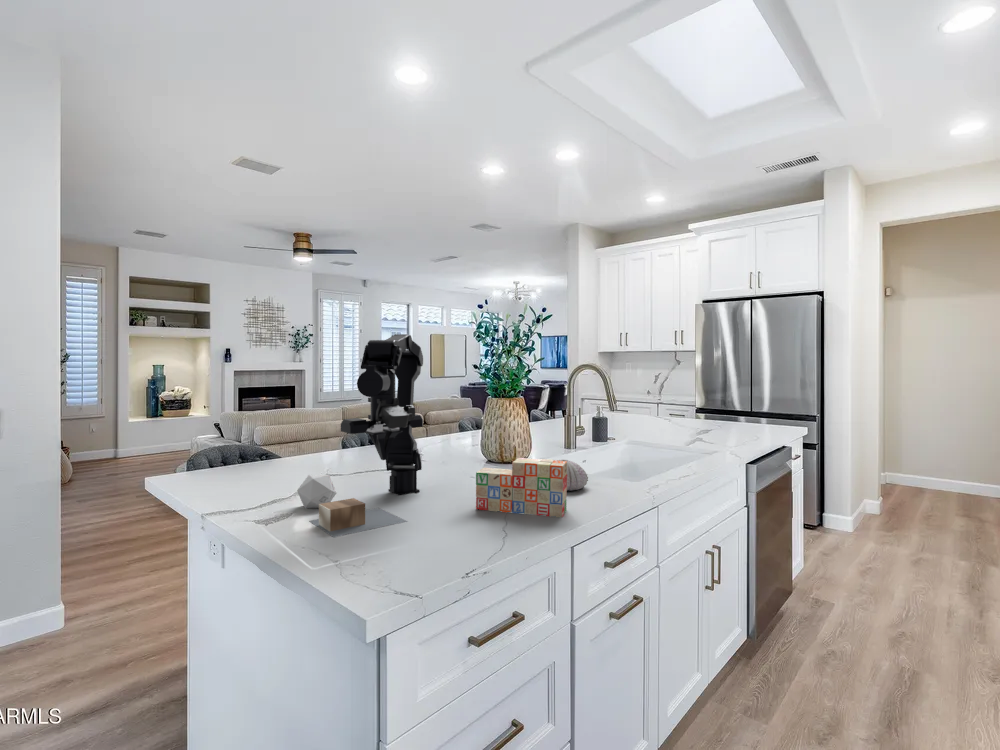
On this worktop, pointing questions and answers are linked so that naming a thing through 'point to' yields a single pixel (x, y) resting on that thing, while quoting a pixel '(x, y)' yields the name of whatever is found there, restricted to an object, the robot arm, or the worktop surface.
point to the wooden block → (341, 514)
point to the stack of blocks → (524, 487)
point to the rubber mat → (366, 522)
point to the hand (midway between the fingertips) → (383, 459)
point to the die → (316, 490)
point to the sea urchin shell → (575, 476)
